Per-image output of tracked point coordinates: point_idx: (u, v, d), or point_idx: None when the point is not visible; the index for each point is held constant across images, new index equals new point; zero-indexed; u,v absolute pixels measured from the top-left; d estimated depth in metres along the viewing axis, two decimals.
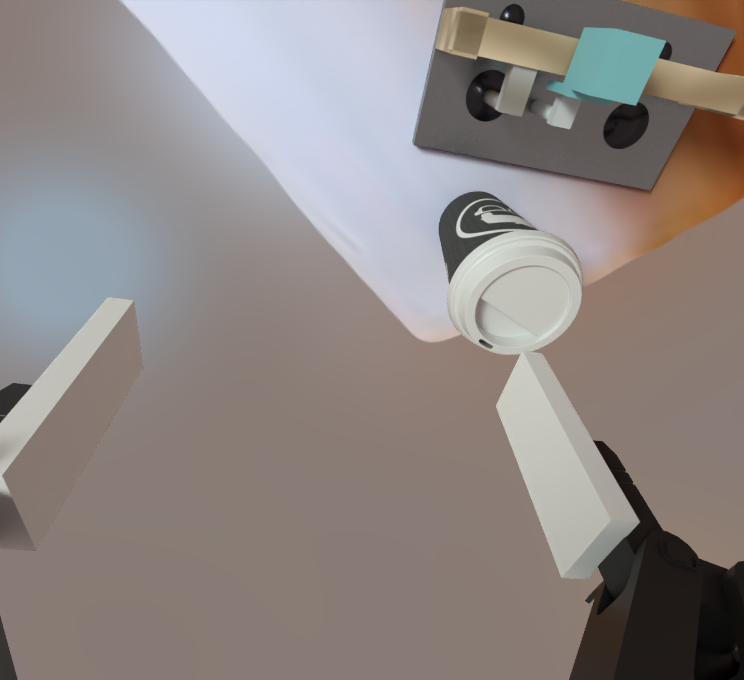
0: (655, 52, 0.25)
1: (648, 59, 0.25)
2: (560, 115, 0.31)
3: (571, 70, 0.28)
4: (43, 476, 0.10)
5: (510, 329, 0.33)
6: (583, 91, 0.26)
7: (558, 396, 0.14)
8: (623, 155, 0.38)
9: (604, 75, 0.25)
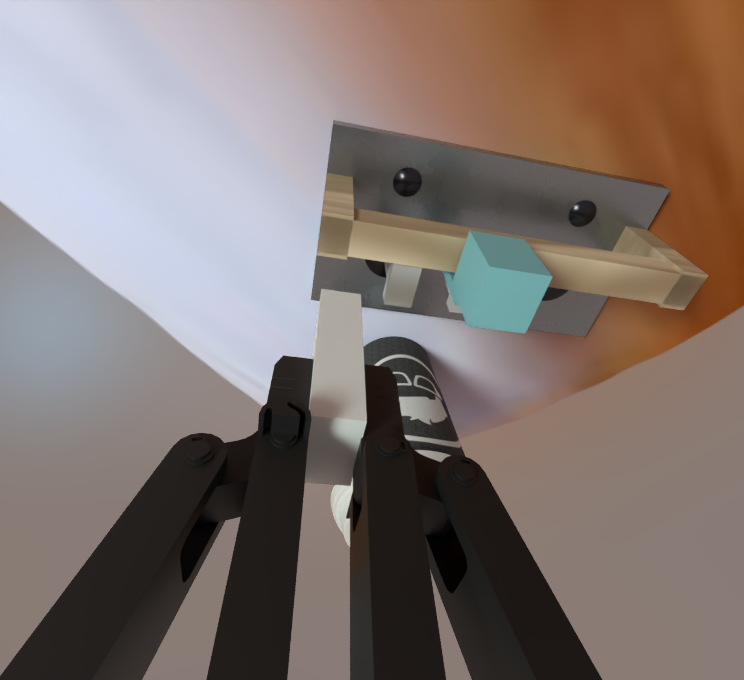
0: (541, 287, 0.20)
1: (533, 293, 0.20)
2: None
3: (458, 273, 0.24)
4: None
5: None
6: (464, 314, 0.22)
7: (353, 327, 0.15)
8: (551, 306, 0.34)
9: (482, 308, 0.21)
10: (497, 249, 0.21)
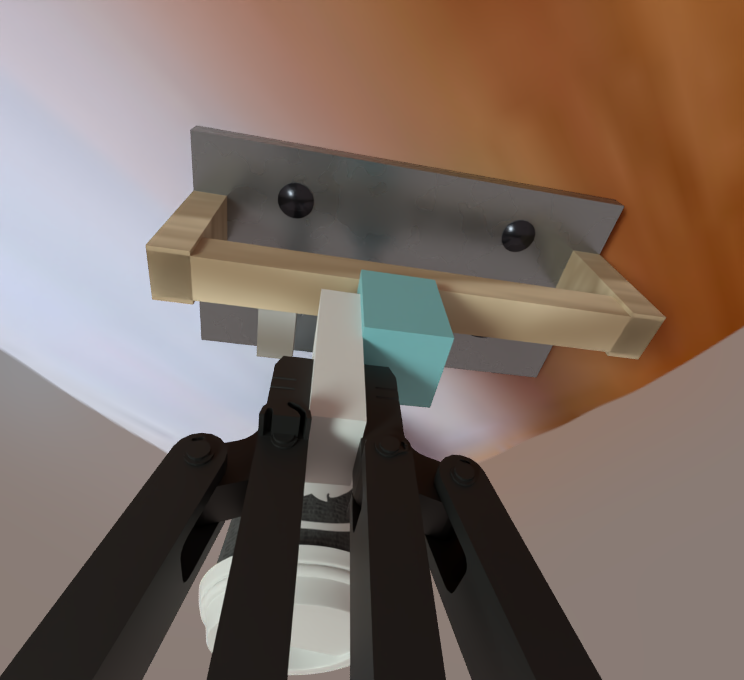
0: (440, 351, 0.15)
1: (431, 359, 0.15)
2: None
3: None
4: None
5: None
6: None
7: (352, 327, 0.15)
8: (491, 343, 0.28)
9: None
10: (389, 297, 0.16)
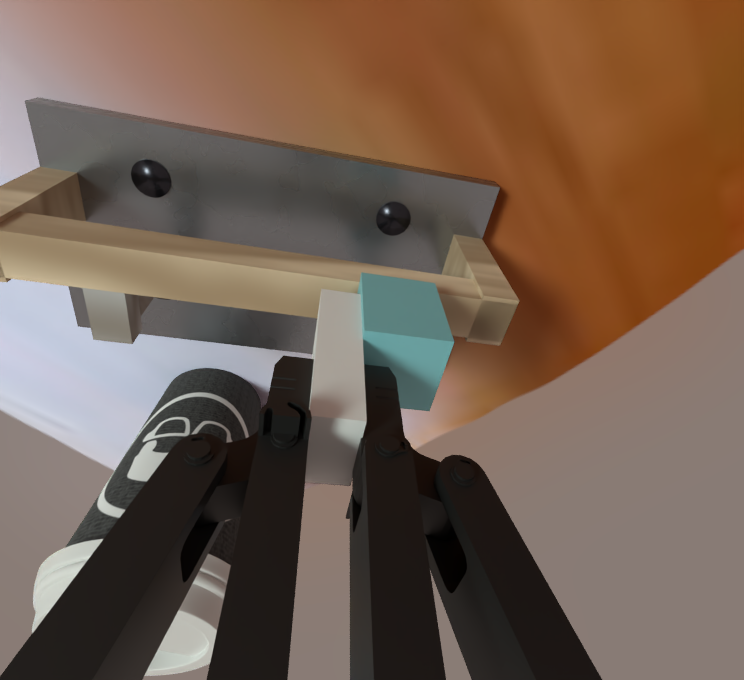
0: (440, 355, 0.15)
1: (431, 363, 0.15)
2: None
3: None
4: None
5: None
6: None
7: (353, 327, 0.15)
8: None
9: None
10: (389, 300, 0.16)
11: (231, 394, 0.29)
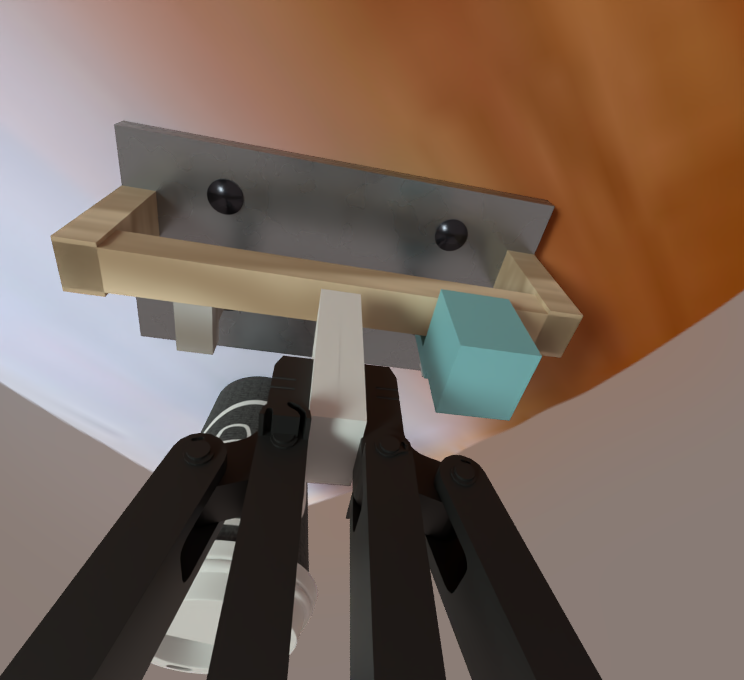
0: (527, 368, 0.16)
1: (518, 375, 0.16)
2: None
3: (428, 339, 0.19)
4: None
5: None
6: (433, 395, 0.18)
7: (353, 327, 0.15)
8: None
9: (453, 392, 0.17)
10: (473, 316, 0.17)
11: None
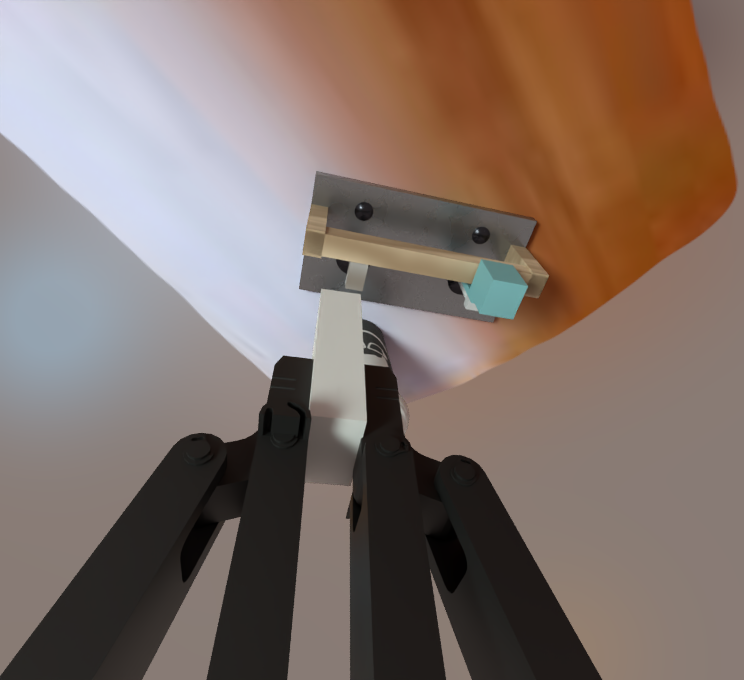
0: (521, 292, 0.36)
1: (517, 295, 0.36)
2: (471, 303, 0.43)
3: (473, 284, 0.40)
4: None
5: None
6: (477, 307, 0.38)
7: (353, 327, 0.15)
8: None
9: (488, 303, 0.37)
10: (497, 270, 0.37)
11: (375, 332, 0.49)
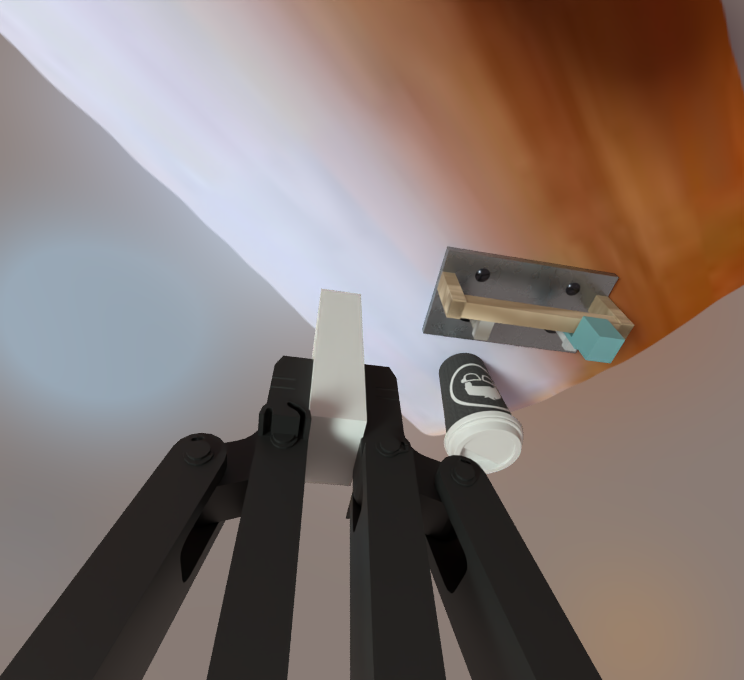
0: (619, 344, 0.48)
1: (616, 346, 0.48)
2: (569, 345, 0.54)
3: (576, 334, 0.51)
4: None
5: (482, 458, 0.55)
6: (582, 354, 0.49)
7: (353, 327, 0.15)
8: (556, 336, 0.60)
9: (593, 352, 0.48)
10: (598, 326, 0.49)
11: (481, 364, 0.61)
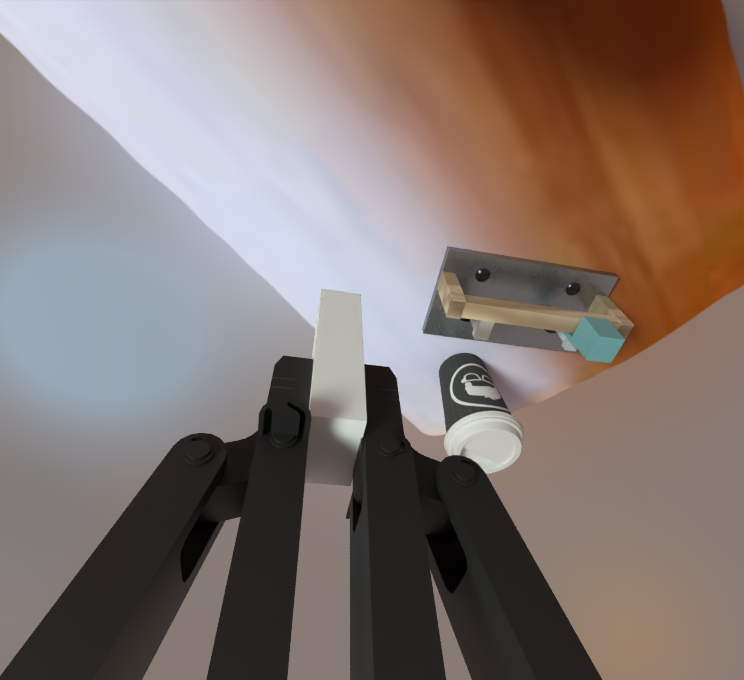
0: (620, 344, 0.48)
1: (616, 346, 0.48)
2: (569, 345, 0.54)
3: (576, 334, 0.51)
4: None
5: (482, 458, 0.55)
6: (582, 354, 0.49)
7: (353, 327, 0.15)
8: (556, 336, 0.60)
9: (593, 352, 0.48)
10: (599, 326, 0.49)
11: (481, 364, 0.61)
